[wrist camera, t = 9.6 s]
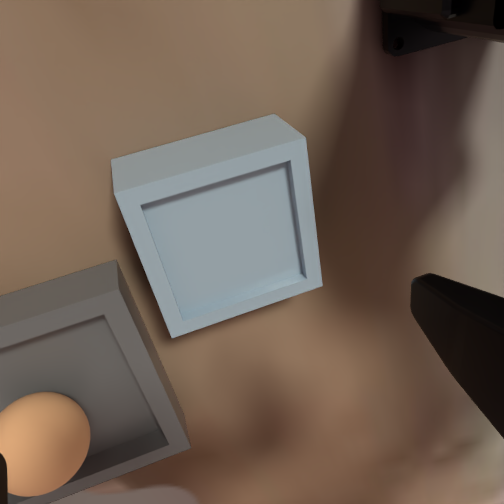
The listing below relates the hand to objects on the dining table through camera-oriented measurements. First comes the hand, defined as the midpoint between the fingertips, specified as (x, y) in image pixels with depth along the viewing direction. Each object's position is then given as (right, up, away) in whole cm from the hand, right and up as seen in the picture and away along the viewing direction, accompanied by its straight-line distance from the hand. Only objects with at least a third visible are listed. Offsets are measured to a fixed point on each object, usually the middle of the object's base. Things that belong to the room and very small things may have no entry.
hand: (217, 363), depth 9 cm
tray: (-10, -5, +14) cm, 18 cm away
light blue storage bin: (-1, +4, +12) cm, 13 cm away
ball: (-9, -6, +11) cm, 16 cm away
